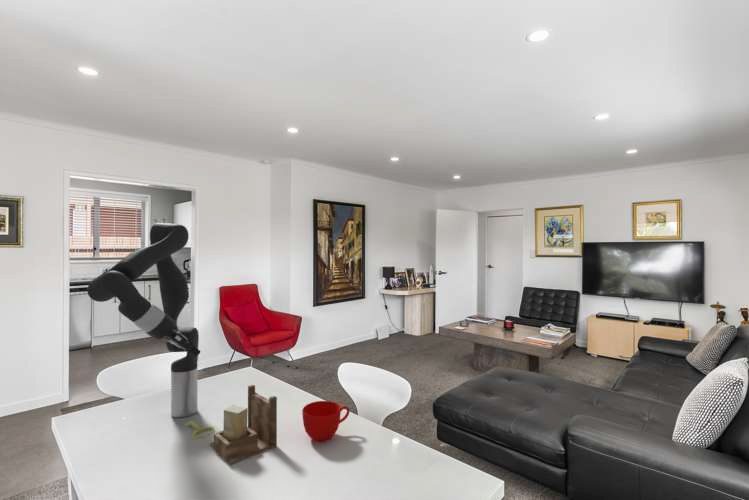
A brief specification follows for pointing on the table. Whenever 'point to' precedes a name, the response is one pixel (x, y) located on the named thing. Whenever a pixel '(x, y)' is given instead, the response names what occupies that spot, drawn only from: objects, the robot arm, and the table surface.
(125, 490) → the table surface
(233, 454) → the headboard stand
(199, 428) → the key
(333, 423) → the ceramic cup
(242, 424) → the skincare box
